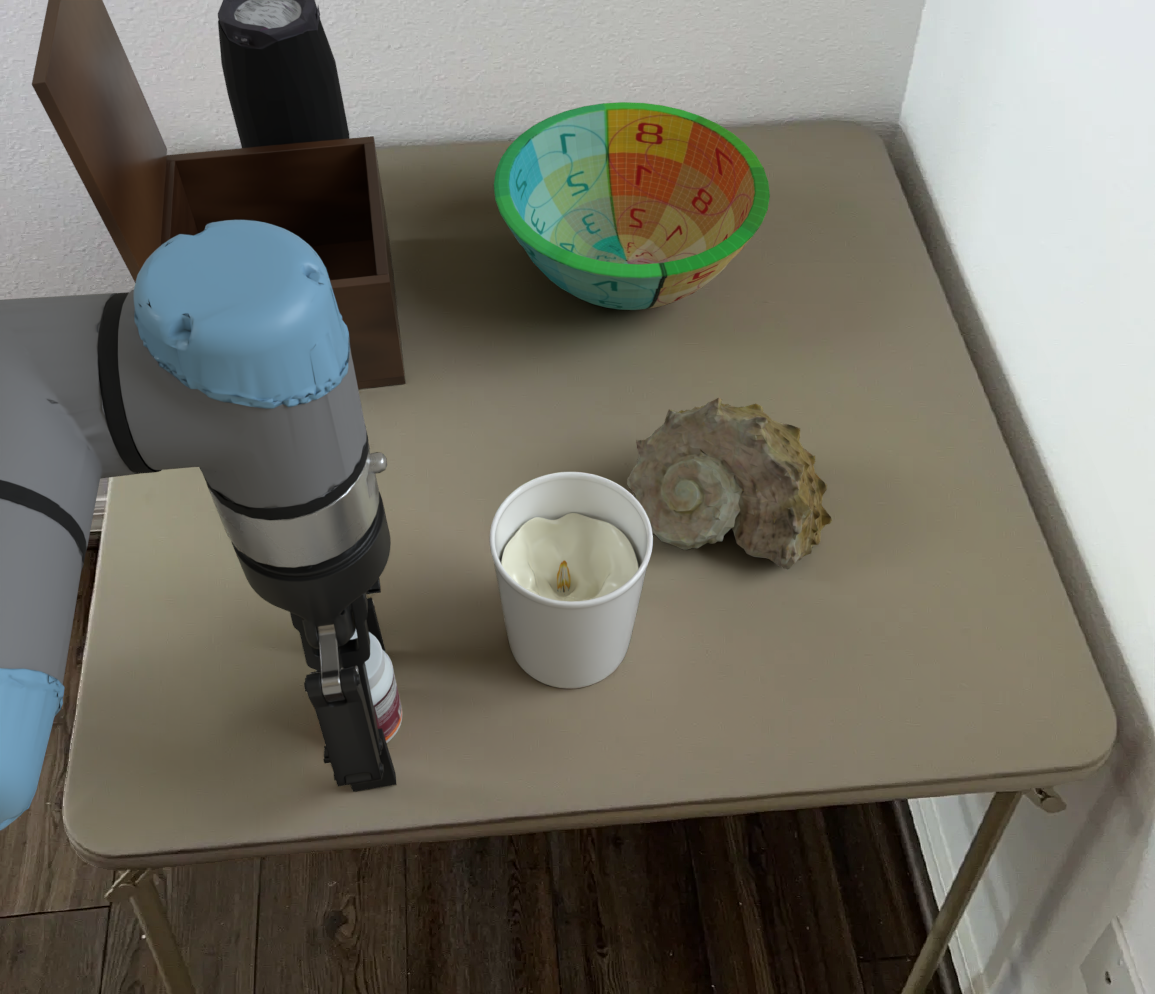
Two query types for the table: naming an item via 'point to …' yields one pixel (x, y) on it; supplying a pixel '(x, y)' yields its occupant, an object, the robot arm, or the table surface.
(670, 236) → the bowl
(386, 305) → the chest
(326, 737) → the robot arm
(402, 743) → the table surface
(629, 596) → the candle holder
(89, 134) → the lid
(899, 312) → the table surface
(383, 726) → the pill bottle
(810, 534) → the seashell
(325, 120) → the portable speaker
